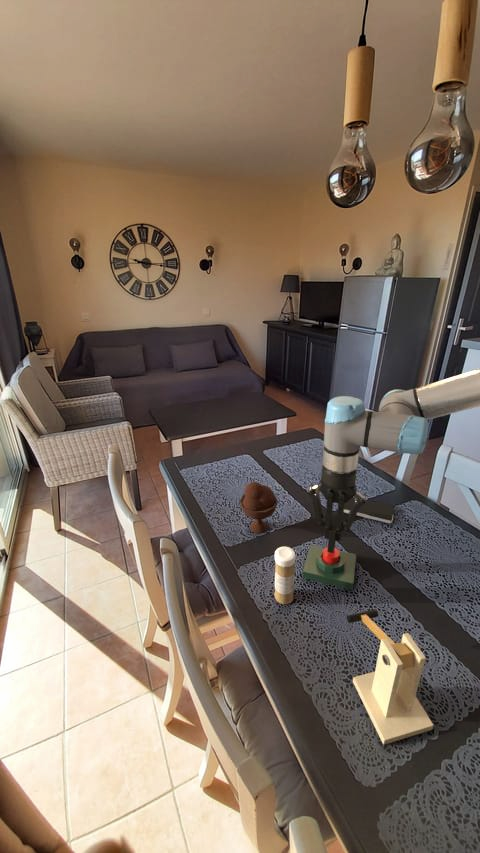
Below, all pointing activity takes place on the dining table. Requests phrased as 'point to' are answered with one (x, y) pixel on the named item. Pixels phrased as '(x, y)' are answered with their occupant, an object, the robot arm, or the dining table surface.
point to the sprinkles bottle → (284, 574)
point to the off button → (331, 556)
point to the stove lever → (383, 636)
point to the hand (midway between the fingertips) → (331, 548)
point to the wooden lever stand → (394, 693)
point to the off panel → (330, 568)
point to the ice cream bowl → (258, 505)
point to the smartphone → (372, 510)
